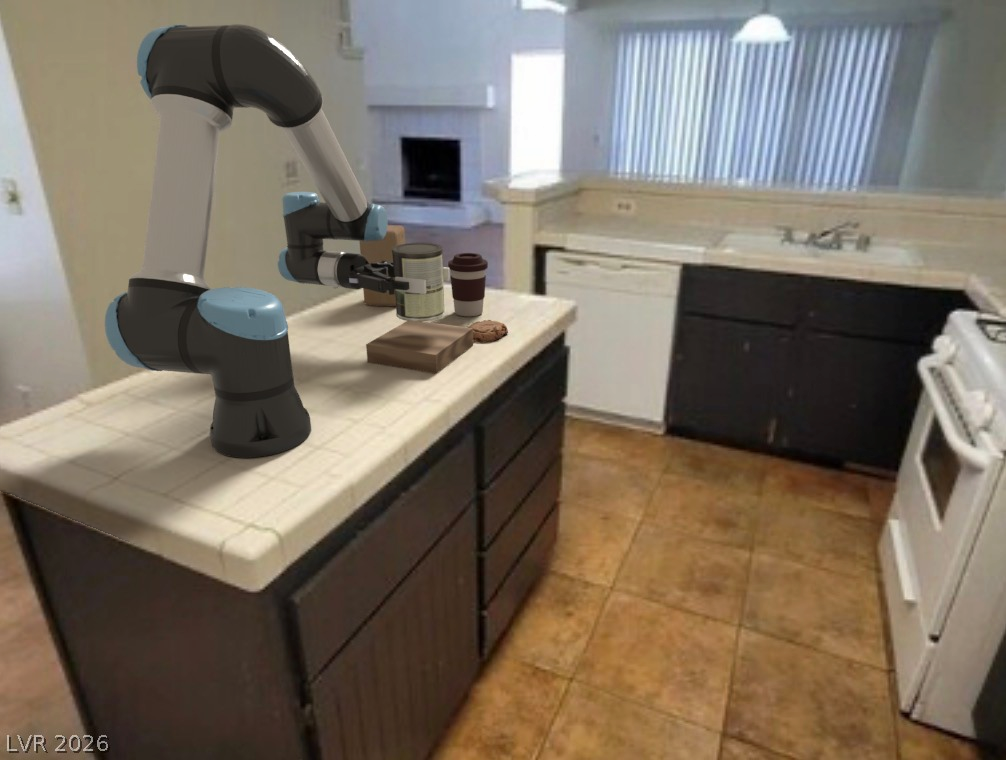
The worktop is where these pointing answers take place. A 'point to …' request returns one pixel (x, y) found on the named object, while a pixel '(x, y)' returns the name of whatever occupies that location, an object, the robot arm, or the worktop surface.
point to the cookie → (488, 330)
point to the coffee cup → (468, 283)
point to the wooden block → (378, 253)
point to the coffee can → (419, 265)
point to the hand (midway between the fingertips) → (437, 280)
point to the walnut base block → (420, 346)
